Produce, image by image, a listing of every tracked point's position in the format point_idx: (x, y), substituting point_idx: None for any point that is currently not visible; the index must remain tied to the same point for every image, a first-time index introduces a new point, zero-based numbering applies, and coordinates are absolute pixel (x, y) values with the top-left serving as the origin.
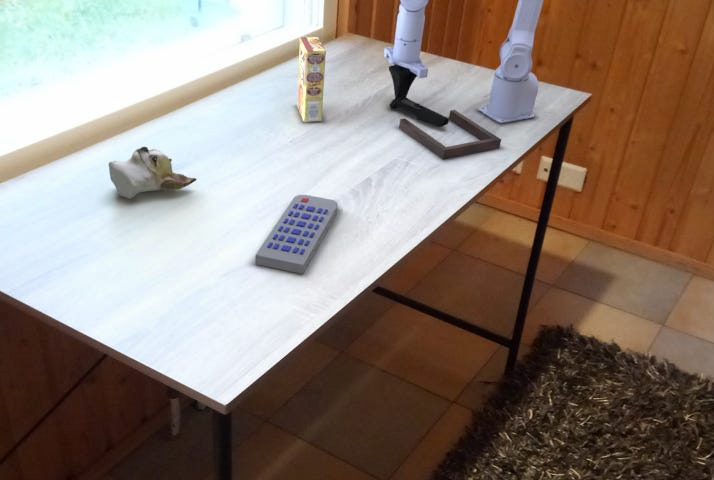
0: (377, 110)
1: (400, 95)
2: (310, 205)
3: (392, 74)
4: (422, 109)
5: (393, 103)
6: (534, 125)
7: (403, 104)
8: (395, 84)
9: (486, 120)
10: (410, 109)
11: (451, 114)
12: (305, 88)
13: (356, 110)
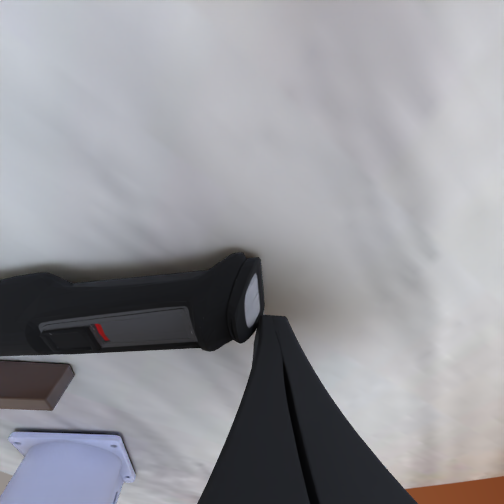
0: (270, 176)
1: (256, 343)
2: None
3: (356, 480)
4: (11, 330)
5: (226, 272)
6: (6, 460)
7: (145, 295)
8: (295, 390)
9: (47, 420)
10: (87, 293)
11: (37, 386)
12: None
13: (362, 16)
